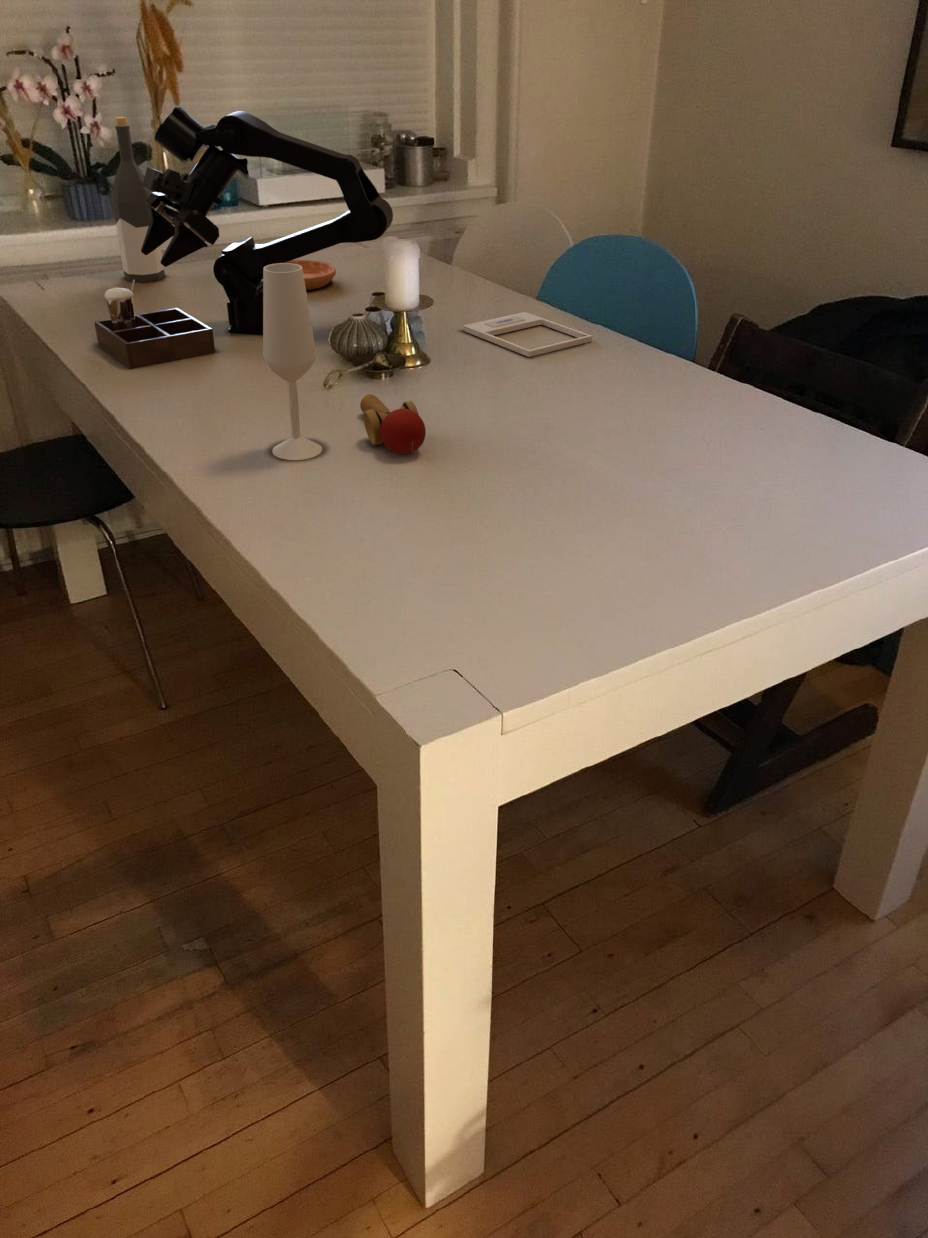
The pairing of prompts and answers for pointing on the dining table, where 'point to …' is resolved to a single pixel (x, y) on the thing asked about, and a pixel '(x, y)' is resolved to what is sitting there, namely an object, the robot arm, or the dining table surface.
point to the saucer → (315, 272)
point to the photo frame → (519, 322)
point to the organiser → (156, 338)
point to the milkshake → (121, 307)
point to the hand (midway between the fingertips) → (152, 258)
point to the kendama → (393, 425)
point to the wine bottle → (133, 214)
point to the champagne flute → (288, 345)
